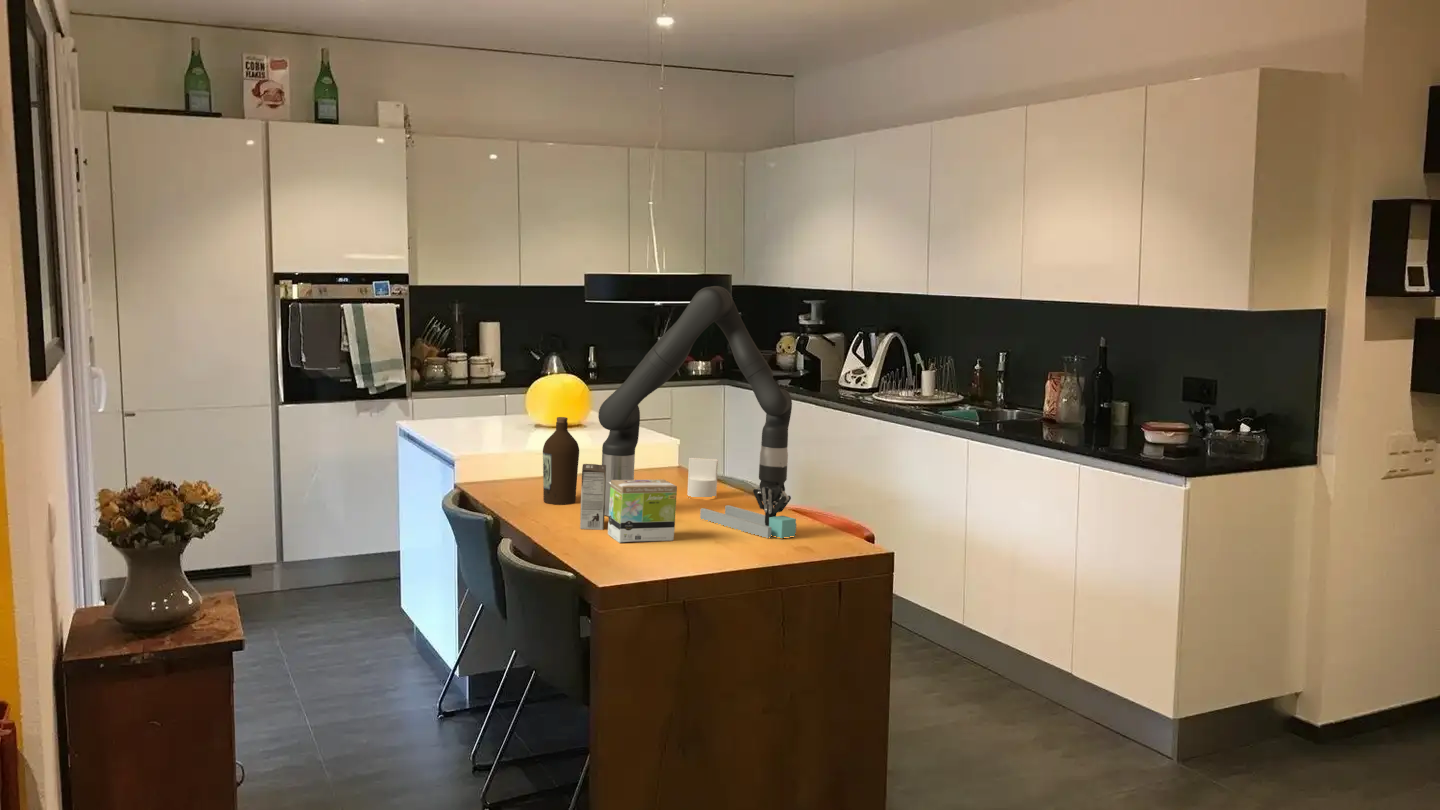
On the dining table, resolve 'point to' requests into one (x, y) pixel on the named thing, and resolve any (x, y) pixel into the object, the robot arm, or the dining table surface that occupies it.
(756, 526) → the rails
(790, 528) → the teal block
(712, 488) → the cylinder with rectangular tab
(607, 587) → the dining table surface
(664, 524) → the tea box
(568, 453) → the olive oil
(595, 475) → the coffee box
